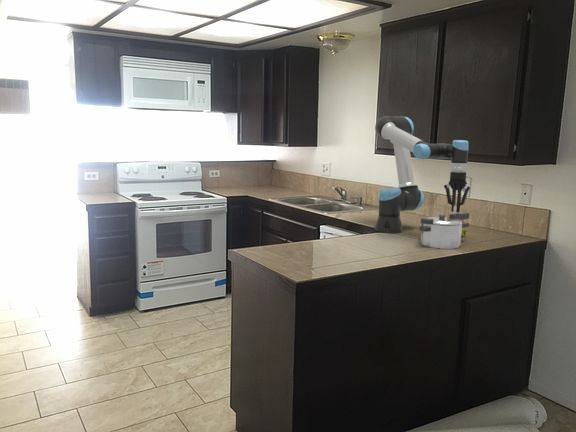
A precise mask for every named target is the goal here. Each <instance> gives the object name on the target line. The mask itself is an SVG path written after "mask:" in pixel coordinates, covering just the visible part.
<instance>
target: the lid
mask: <svg viewBox="0 0 576 432" xmlns="http://www.w3.org/2000/svg"><path fill="white" fill-rule="evenodd" d="M463 219H464V220H469V219H470V213H469V212H457V213H456V214H453V213H449V216H446V215H445V214H439V216H427V217H422V218H420V224H421V225H422V224H428V225H429V224H434V225H460V224H462V220H463Z"/></svg>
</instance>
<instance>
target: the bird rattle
mask: <svg viewBox="0 0 576 432" xmlns="http://www.w3.org/2000/svg"><path fill="white" fill-rule="evenodd" d="M462 223H465V219H463V220H462ZM467 233H468V230H467V229H462V232H461V237H462V236H463V235H464V236H466V235H467Z"/></svg>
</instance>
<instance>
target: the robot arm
mask: <svg viewBox="0 0 576 432" xmlns="http://www.w3.org/2000/svg"><path fill="white" fill-rule="evenodd" d="M374 130H375V133H376V135H378V136H379V137H380V138H382V139H384V140H389V141H390V143H391V144H392V145H393V151H394V158H395V159H394V160H395V164H396V172H397V180H398V186H397V187H389V188H384V189H381V190H380V192H379V196H378V217H377V219H376V223H375V225H374V231H376V232H378V233H383V234H384V233H385V234H386V233H387V234H399V233H402V232H403V229H404V228H403V225H402V224H403V223H402V220H401V212H405V211H406V212H407V211H417V210H419V209H420V208H421V207H422V205H423V204H424V201H425V195H424V192H423V191H422V190H421V189H420V188H419V185H418V184H417V183H416V182H415V178H414V170H413V163H412V155H411V153H413V156H414V157H415V159H418V160H427V159H428V160H433V159H434V160H438V159H440V160H442V159H443V160H445V159H446V160H451V162H450V171H451V172H450V173H449V175H450V176H449V181H448V183H447V184H444V185H443V187H444V189H445V192H446V193H445V194H446V198H447V204H449V205H451V212H452V214H456V213H460V208H461V206H462V205H463V206H464V204H465V203H466V199H467V196H468V194H469V191H470V190H471V188H472V187H471V186H470V185H469V184H468V183H467V168H468V156H469V141H468V140H464V139H463V140H462V139H460V140H459V139H455V140H452V143H444V142H443V143H442V142H441V143H427V142H426V141H424V140H423V139H420V138H418V137H416V136H414V135H413V134H414V130H415V126H414V123H413V121H412V119H410V118H409V117H407V116H402V115H400V116H399V115H398V116H397V115H396V116H395V115H394V116H393V115H384V116H381V117H380V118H379V119H378V120H377V121H376V123H375V126H374ZM450 188H451V189H452V191H450ZM463 189H464V192H463V195H462V190H463ZM451 193H452V194H451ZM456 196H457V197H456Z"/></svg>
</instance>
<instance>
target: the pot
mask: <svg viewBox="0 0 576 432" xmlns="http://www.w3.org/2000/svg"><path fill="white" fill-rule="evenodd" d="M469 227H470V223H469V222H464V223H462V224H460V225H434V224H429V225H428V224H422V223H421V225H420V226H419V227H418V231H420V232H421V235H420V244H421V245H422V246H425V247H427V248H432V249H439V248H440V249H441V250H443V249H445V250H446V249H449V250H451V249H452V250H453V249H459V248H460V247H461V244H462V236H461V232H462V230H463V228H469Z"/></svg>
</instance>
